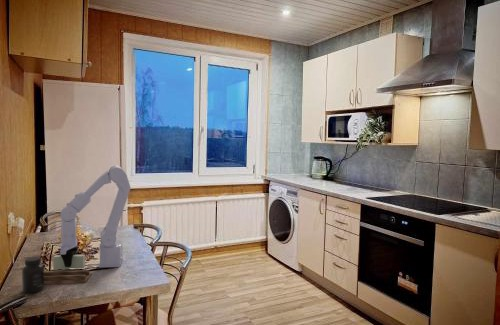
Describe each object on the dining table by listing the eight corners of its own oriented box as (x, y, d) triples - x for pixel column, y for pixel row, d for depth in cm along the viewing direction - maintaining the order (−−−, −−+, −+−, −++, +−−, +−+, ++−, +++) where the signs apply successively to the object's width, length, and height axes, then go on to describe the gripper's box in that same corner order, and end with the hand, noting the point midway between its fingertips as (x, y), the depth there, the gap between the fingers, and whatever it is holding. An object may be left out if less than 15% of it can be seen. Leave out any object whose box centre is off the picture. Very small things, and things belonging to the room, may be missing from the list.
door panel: (85, 267, 150) (84, 254, 149) (83, 269, 148) (83, 256, 147) (55, 268, 148) (55, 255, 147) (53, 270, 146) (53, 256, 145)
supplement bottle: (17, 292, 125) (17, 260, 124) (35, 284, 132) (34, 254, 131) (31, 295, 123) (30, 263, 122) (48, 288, 129) (47, 257, 128)
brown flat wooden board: (91, 274, 142) (91, 268, 142) (85, 282, 135) (85, 276, 134) (44, 276, 140) (44, 270, 139) (35, 284, 132) (35, 278, 132)
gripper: (65, 229, 153) (65, 259, 154) (51, 239, 139) (52, 272, 140) (82, 229, 154) (82, 259, 155) (70, 239, 140) (70, 271, 141)
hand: (69, 265), depth 148 cm, fingers open, 3 cm apart
